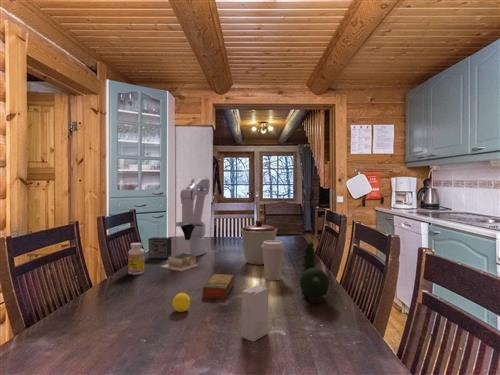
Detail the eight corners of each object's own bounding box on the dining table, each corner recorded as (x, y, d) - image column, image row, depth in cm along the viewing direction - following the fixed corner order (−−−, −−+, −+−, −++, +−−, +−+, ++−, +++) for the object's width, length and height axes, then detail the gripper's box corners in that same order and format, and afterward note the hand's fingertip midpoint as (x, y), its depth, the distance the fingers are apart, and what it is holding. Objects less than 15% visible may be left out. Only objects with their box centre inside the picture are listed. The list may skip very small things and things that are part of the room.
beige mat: (178, 262, 164) (178, 261, 164) (198, 266, 157) (198, 264, 157) (160, 267, 154) (160, 266, 154) (181, 271, 147) (181, 270, 147)
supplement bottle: (124, 273, 143) (124, 244, 143) (136, 270, 149) (136, 241, 149) (136, 275, 140) (135, 245, 140) (147, 272, 146) (147, 243, 146)
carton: (233, 285, 128) (233, 274, 128) (226, 300, 113) (226, 287, 112) (212, 284, 129) (212, 273, 129) (202, 298, 114) (202, 286, 113)
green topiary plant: (296, 290, 127) (302, 309, 102) (296, 240, 128) (301, 246, 103) (321, 290, 126) (333, 310, 101) (320, 240, 128) (332, 247, 103)
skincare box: (255, 329, 89) (255, 284, 89) (269, 334, 86) (269, 287, 86) (240, 337, 85) (240, 290, 84) (254, 343, 82) (254, 294, 81)
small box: (172, 256, 177) (172, 236, 177) (167, 259, 170) (167, 239, 170) (153, 256, 178) (152, 236, 178) (148, 259, 172) (147, 238, 171)
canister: (234, 265, 158) (234, 221, 158) (248, 257, 175) (248, 217, 175) (270, 268, 152) (270, 222, 151) (282, 260, 168) (282, 218, 168)
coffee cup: (287, 276, 139) (287, 241, 138) (280, 283, 130) (280, 244, 130) (266, 274, 143) (266, 239, 142) (257, 280, 134) (257, 243, 134)
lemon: (190, 315, 100) (189, 299, 99) (171, 316, 99) (171, 299, 98) (191, 304, 107) (190, 288, 106) (173, 305, 106) (173, 289, 105)
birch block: (183, 253, 163) (168, 256, 155) (196, 254, 159) (181, 258, 151) (183, 261, 163) (168, 265, 155) (196, 263, 159) (181, 268, 151)
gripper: (183, 213, 160) (183, 242, 160) (203, 212, 172) (203, 238, 172) (172, 213, 164) (172, 241, 163) (193, 212, 176) (193, 237, 176)
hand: (187, 239), depth 168 cm, fingers closed
